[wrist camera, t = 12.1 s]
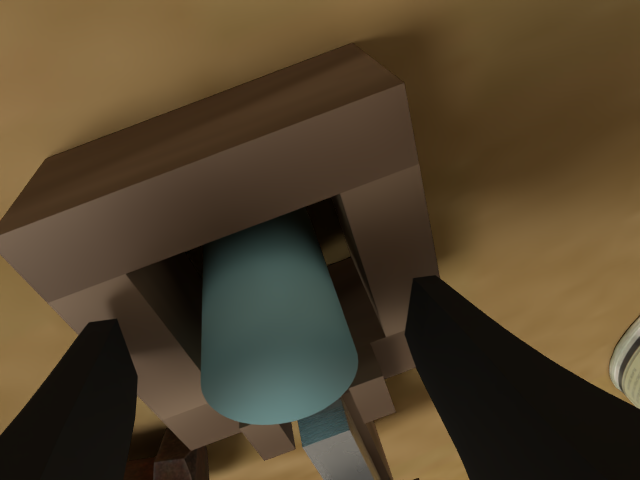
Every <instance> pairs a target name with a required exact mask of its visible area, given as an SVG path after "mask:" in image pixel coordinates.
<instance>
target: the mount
mask: <svg viewBox="0 0 640 480" xmlns="http://www.w3.org/2000/svg"><path fill="white" fill-rule="evenodd" d="M330 197H331V198H332V201H333V204H334V207H335V210H336V213H337V216H338V219H339V222H340V225H341V228H342V231H343V234H344V237H345V240H346V243H347V246H348V249H349V252H350V255H351V258H348V259H346V260H343V261H340V262H338V263H335V264H332V265H330V266H327V268H328V271H329V274H330V277H331V280H332V282H333V285H334V288H335V291H336V294H337V297H338V299H339V302H340V305H341V308H342V311H343V314H344V317H345V319H346V322H347V325H348V328H349V331H350V334H351V337H352V339H353V342H354V345H355V348H356V351H357V355H358V369H357V372H356V375H355V378H354V380H353V382H352V383H351V385H350V386H349V388H348V389H347V390H346V391H345V393H344V394H343V395H342V398H343V400H344V402H345V405H346V407H347V409H348V411H349V413H350V415H351V417H352V419H353V421H354V424H355V426H356V428H357V430H358V432H359V434H360V436H361V438H362V440H363V442H364V445H365V447H366V449H367V451H368V453H369V455H370V457H371V459H372V461H373V463H374V466H375V468H376V470H377V472H378V474H379V476H380V478H381V480H393V477H392V474H391V471H390V468H389V465H388V462H387V459H386V457H385V454H384V451H383V448H382V445H381V442H380V439H379V436H378V433H377V430H376V427H375V424H374V421H373V420H376V419H379V418H382V417H384V416H387V415H390V414H392V413H395V412H396V411H395V408H394V405H393V403H392V400H391V397H390V394H389V391H388V389H387V386H386V383H385V380H384V379H386V378H389V377H392V376H395V375H397V374H400V373H403V372H405V371H408V370H411V369H414V368H416V366H415V363H414V361H413V358H412V355H411V352H410V349H409V346H408V344H407V341H406V338H405V335H404V334H405V327H406V321H407V314H408V307H409V301H410V294H411V288H412V281H413V278H417V277H425V276H432V275H436V276H437V277H439V278H440V276H439V270H438V265H437V259H436V254H435V248H434V243H433V237H432V232H431V226H430V221H429V215H428V210H427V204H426V199H425V194H424V188H423V183H422V177H421V172H420V166H419V161H418V155H417V150H416V144H415V139H414V133H413V128H412V122H411V117H410V111H409V106H408V100H407V95H406V90H405V84H404V82H403V81H401V80H400V79H399V78H397V77H396V76H395V75H393V74H392V73H391V72H390V71H388V70H387V69H386V68H384V67H383V66H382V65H381V64H379V63H378V62H377V61H375V60H374V59H373V58H372V57H370V56H369V55H368V54H366V53H365V52H364V51H363V50H361V49H360V48H359V47H357V46H356V45H355V44H353V43H351V44H348V45H346V46H343V47H340V48H338V49H335V50H332V51H330V52H327V53H324V54H322V55H319V56H317V57H314V58H311V59H309V60H306V61H303V62H301V63H298V64H295V65H293V66H290V67H287V68H285V69H282V70H279V71H277V72H274V73H272V74H269V75H266V76H264V77H261V78H258V79H256V80H253V81H250V82H248V83H245V84H242V85H240V86H237V87H235V88H232V89H229V90H227V91H224V92H221V93H219V94H216V95H213V96H211V97H208V98H205V99H203V100H200V101H197V102H195V103H192V104H190V105H187V106H184V107H182V108H179V109H176V110H174V111H171V112H168V113H166V114H163V115H160V116H158V117H155V118H153V119H150V120H147V121H145V122H142V123H139V124H137V125H134V126H131V127H129V128H126V129H123V130H121V131H118V132H115V133H113V134H110V135H108V136H105V137H102V138H100V139H97V140H94V141H92V142H89V143H86V144H84V145H81V146H78V147H76V148H73V149H71V150H68V151H65V152H63V153H60V154H57V155H55V156H52V157H49V158H47V159H45V160H44V162H43V163H42V164H41V166H40V167H39V168H38V170H37V171H36V173H35V174H34V175H33V177H32V178H31V179H30V181H29V182H28V184H27V185H26V186H25V188H24V189H23V191H22V192H21V193H20V195H19V196H18V197H17V199H16V200H15V202H14V203H13V204H12V206H11V207H10V208H9V210H8V211H7V213H6V214H5V215H4V217H3V218H2V219H1V221H0V255H1V256H2V257H3V258H4V259H5V260H6V261H7V262H8V263H9V264H10V265H11V266H12V267H13V268H14V269H15V270H16V271H17V272H18V273H19V274H20V275H21V276H22V277H23V278H24V279H25V280H26V282H27V283H28V284H29V285H30V286H31V287H32V288H33V289H34V290H35V291H36V292H37V293H38V294H39V295H40V296H41V297H42V298H43V299H44V300H45V301H46V302H47V303H48V304H49V305H50V306H51V307H52V308H53V309H54V310H55V311H56V312H57V313H58V314H59V315H60V317H61V318H62V319H63V320H64V321H65V322H66V323H67V324H68V325H69V326H70V327H71V328H72V329H73V330H74V331H75V332H76V333H77V334H78V335H79V334H80V333H81V331H82V330H83V329H84V327H85V326H86V325H87V324H88V323H89V322H94V321H102V320H109V319H116V318H117V320H118V323H119V326H120V328H121V331H122V334H123V337H124V339H125V342H126V345H127V348H128V350H129V353H130V356H131V359H132V361H133V364H134V367H135V370H136V372H137V375H138V383H137V396H138V397H139V398H140V399H141V400H142V401H143V402H144V403H145V404H146V405H147V406H148V407H149V408H150V409H151V410H152V411H153V412H154V413H155V414H156V415H157V416H158V417H159V418H160V419H161V420H162V421H163V423H164V424H165V425H166V426H167V427H168V428H169V429H170V430H171V431H172V432H173V433H174V434H175V435H176V436H177V437H178V438H179V439H180V440H181V441H182V442H183V443H184V444H185V445H186V446H187V447H188V448H189V449H190V450H191V451H192V450H194V449H197V448H200V447H202V446H205V445H208V444H210V443H213V442H216V441H219V440H221V439H224V438H227V437H229V436H232V435H235V434H238V433H240V432H242V433H243V434H244V436H245V437H246V438H247V439H248V441H249V442H250V443H251V444H252V446H253V447H254V448H255V449H256V451H257V452H258V453H259V455H260V456H261V457H262V458H263V460H264V461H265V460H268V459H270V458H273V457H276V456H278V455H281V454H284V453H287V452H289V451H292V450H295V443H294V437H293V431H292V424H291V422H288V423H282V424H273V425H256V424H247V423H242V422H238V421H234V420H232V419H229V418H227V417H225V416H223V415H221V414H219V413H218V412H217V411H215V410H214V409H213V408H212V407H211V406H210V405H209V404H208V402H207V401H206V400H205V398H204V396H203V393H202V390H201V337H202V287H203V280H202V279H201V277H200V276H199V274H198V273H197V271H196V269H195V268H194V266H193V265H192V263H191V262H190V260H189V258H188V257H187V255H186V254H185V251H188V250H191V249H193V248H196V247H199V246H201V245H204V244H207V243H209V242H212V241H215V240H217V239H220V238H223V237H225V236H228V235H231V234H233V233H236V232H239V231H241V230H244V229H247V228H249V227H252V226H255V225H257V224H260V223H263V222H265V221H268V220H271V219H273V218H276V217H279V216H282V215H284V214H287V213H290V212H292V211H295V210H298V209H300V208H303V207H306V206H308V205H311V204H314V203H316V202H319V201H322V200H324V199H327V198H330ZM297 421H298V420H297ZM414 480H419V478H417V479H414Z"/></svg>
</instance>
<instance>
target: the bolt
mask: <svg viewBox="0 0 640 480" xmlns="http://www.w3.org/2000/svg"><path fill="white" fill-rule="evenodd" d="M123 480H209V467H208V455H207V448H206V445H205V446H202V447H200V448H197V449H194V450H192V451H191V450H190V449H189V448H188V447H187V446H186V445H185V444H184V443H183V442H182V441H181V440H180V439H179V438H178V437H177V436H176V435H175V434H174V433H173V432H172V431H171V430H170V429H169V428H166V431H165V434H164V436H163V439H162V442H161V445H160V447H159V450H158V453H157V456H156V457H151V458H144V459H137V460H130V461H127V463H126V468H125V473H124V478H123Z"/></svg>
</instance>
